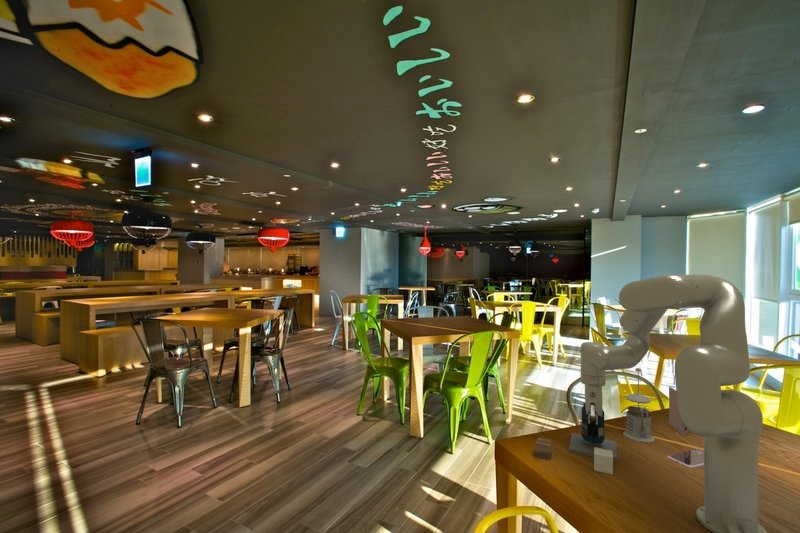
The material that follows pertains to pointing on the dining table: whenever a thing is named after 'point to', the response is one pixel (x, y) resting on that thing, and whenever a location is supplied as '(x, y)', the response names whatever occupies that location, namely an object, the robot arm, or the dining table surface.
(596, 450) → the off-white block
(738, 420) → the robot arm
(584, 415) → the soda can
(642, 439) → the french press
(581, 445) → the mat
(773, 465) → the dining table surface
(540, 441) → the walnut block
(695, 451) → the mobile phone
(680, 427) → the greeting card
